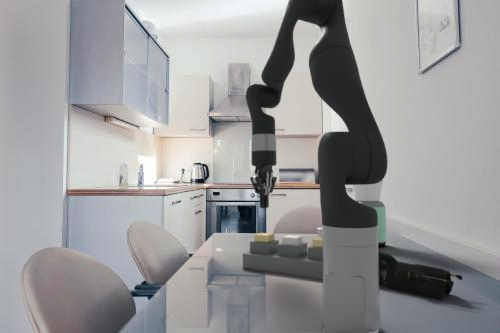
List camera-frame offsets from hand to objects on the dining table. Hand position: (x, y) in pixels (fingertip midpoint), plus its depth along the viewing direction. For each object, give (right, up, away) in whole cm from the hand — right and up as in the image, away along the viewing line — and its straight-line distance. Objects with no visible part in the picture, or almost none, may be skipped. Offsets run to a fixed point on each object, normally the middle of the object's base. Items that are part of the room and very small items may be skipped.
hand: (264, 207), depth 102 cm
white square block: (+8, -11, -5) cm, 14 cm away
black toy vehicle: (+30, -16, -23) cm, 41 cm away
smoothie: (+20, -17, +6) cm, 27 cm away
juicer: (+41, -18, +28) cm, 53 cm away
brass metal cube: (+16, -10, -10) cm, 21 cm away
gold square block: (0, -11, -1) cm, 11 cm away
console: (+8, -17, -5) cm, 19 cm away
